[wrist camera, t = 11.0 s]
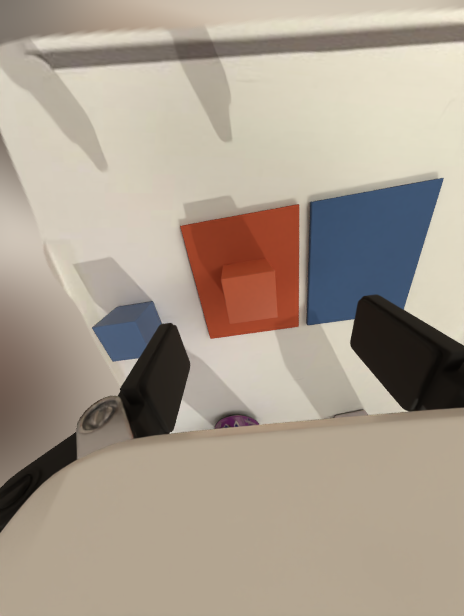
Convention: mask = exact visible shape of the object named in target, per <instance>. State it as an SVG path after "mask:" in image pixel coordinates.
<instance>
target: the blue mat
mask: <svg viewBox="0 0 464 616" xmlns="http://www.w3.org/2000/svg"><path fill="white" fill-rule="evenodd" d="M443 179H444V178H440V179H434V180H429V181H423V182H418V183H412V184H407V185H401V186H396V187H390V188H385V189H379V190H374V191H368V192H363V193H358V194H352V195H347V196H341V197H336V198H330V199H325V200H319V201H314V202H310V230H309V263H308V297H307V325H314V324H321V323H329V322H336V321H343V320H351V319H355V314H356V309H357V303H358V301H359V300H360V299H361V298H362V297H363V296H368V295H375V294H377V295H380V296H381V297H383V298H385V299H386V300H388V301H390V302H391V303H393V304H395V305H396V306H398V307H400V308H401V309H403V310H404V306H405V303H406V300H407V297H408V293H409V290H410V287H411V283H412V280H413V277H414V274H415V270H416V267H417V264H418V261H419V257H420V254H421V251H422V248H423V244H424V241H425V238H426V235H427V231H428V228H429V225H430V221H431V218H432V215H433V212H434V208H435V205H436V202H437V199H438V195H439V192H440V189H441V186H442V182H443Z"/></svg>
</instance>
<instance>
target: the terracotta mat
mask: <svg viewBox="0 0 464 616" xmlns="http://www.w3.org/2000/svg"><path fill="white" fill-rule="evenodd" d="M180 227H181V231H182V235H183V238H184V242H185V246H186V249H187V253H188V257H189V261H190V264H191V268H192V272H193V275H194V279H195V283H196V287H197V290H198V294H199V298H200V301H201V305H202V309H203V313H204V316H205V320H206V324H207V327H208V331H209V335H210V338H211V339H212V338H220V337H227V336H234V335H241V334H249V333H256V332H263V331H271V330H278V329H285V328H292V327H298V326H299V204H297V205H292V206H286V207H281V208H275V209H270V210H265V211H259V212H254V213H248V214H243V215H237V216H232V217H226V218H221V219H215V220H210V221H204V222H199V223H193V224H188V225H183V226H180ZM259 259H266V260H267V261H268V262H269V264H270V265H271V266H272V268H273V269H274V270H275V281H276V299H277V316H278V317H276V318H269V319H262V320H255V321H248V322H241V323H234V324H230V322H229V317H228V312H227V307H226V302H225V297H224V292H223V287H222V282H221V276H222V269H223V265H229V264H235V263H241V262H247V261H253V260H259Z"/></svg>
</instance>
